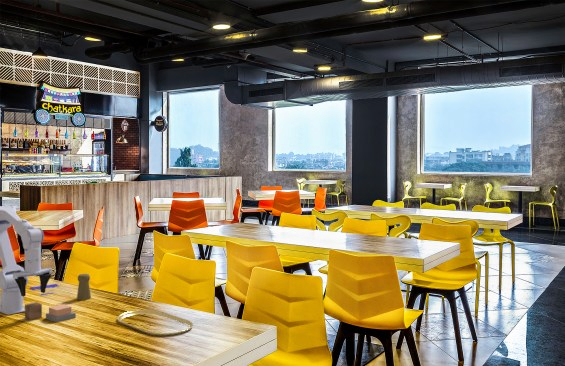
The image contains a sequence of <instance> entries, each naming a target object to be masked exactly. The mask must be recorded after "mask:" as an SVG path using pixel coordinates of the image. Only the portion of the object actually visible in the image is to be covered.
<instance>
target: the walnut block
mask: <svg viewBox="0 0 565 366" xmlns="http://www.w3.org/2000/svg"><path fill="white" fill-rule="evenodd" d="M42 308H43V305H42V304H41V303H39V302H37V301H35V302H30V303H26V304H24V309H25V311H24V319H25V320H28V321H30V322H31V321H34V320H38V319H39V320H40V319H42V318H43V315H42V314H43V312H42V311H43V309H42Z"/></svg>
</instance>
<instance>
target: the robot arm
mask: <svg viewBox="0 0 565 366" xmlns="http://www.w3.org/2000/svg"><path fill="white" fill-rule="evenodd" d="M12 225H13V230H14V231H15V232H16V233H17V234H18V235H19V236H20V239H21V242H22V247H23V249H24V267H23V266H20V265H19V264H17V262H16V258H15V254H14V250H13V247H12V244H11V241H10V237H9V233H8V228H11V227H12ZM44 239H45V234H44V231H43V229H42V228H41V227H35V226H33V225H32V224H31V223H30V222H29V221H28V220H27V219H23V218H22V219H21V217H20V216H19V215H18V214H17V209H16V207H15V206H13V205H10V204H9V205H2V206H1V205H0V262H1V267H2V269H1V270H0V290H1V292H0V313H3V314H5V315H8V316H9V315H15V314H19V313H23V312H24V313H25V307H24V298H25V297H26V296H27V295H26V291H27V290H26V288H27V287H26V286H27V285H28V283H29V277H35V276H38V277H39V281H40V282H39V283H40V284H39V286H40V289H39V290H40V293H42V294H46V293H45V292H46V289H47V288H46V286H47V285H48V282H49V281H50V279H51V278H52V274H53V268H52V267H46V268H42V245H41V244H42V243H43V241H44Z"/></svg>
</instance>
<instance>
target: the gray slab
mask: <svg viewBox="0 0 565 366" xmlns="http://www.w3.org/2000/svg"><path fill="white" fill-rule="evenodd" d="M76 315H77V313H76V312H74V311H71V313H70V314H66V315H62V316H57V317H56V316H54V315H51V314H49V312H47V313H45V319H47V320H49V321H51V322H53V323H60V322H64V321H68V320H73V319H76V318H77V317H76Z"/></svg>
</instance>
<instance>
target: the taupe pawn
mask: <svg viewBox="0 0 565 366" xmlns="http://www.w3.org/2000/svg"><path fill="white" fill-rule="evenodd" d="M90 279H91V275H90V274H88V273H81V274H79V275H78V276H77V281H78V287H77V295H76V300H78V301H87V300H91V299H92V294H91V289H90V288H91V287H90Z"/></svg>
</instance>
